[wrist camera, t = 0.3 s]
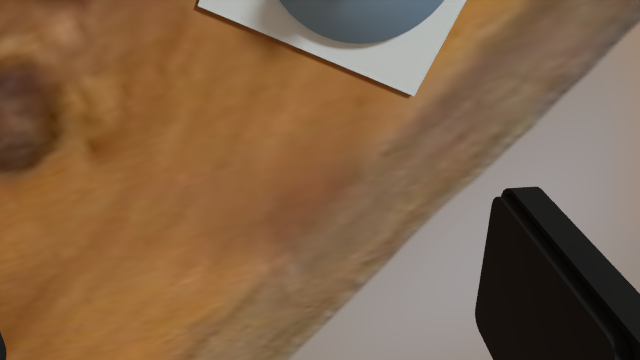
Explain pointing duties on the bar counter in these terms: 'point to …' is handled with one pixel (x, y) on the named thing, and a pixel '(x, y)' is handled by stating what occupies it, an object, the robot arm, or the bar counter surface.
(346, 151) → the bar counter surface
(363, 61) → the mat
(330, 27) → the lid
